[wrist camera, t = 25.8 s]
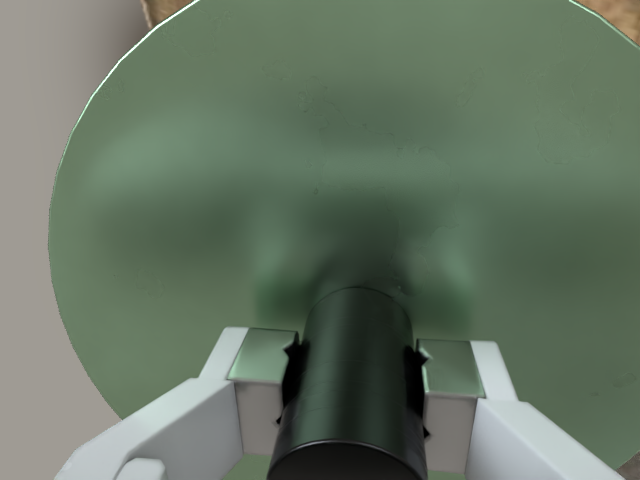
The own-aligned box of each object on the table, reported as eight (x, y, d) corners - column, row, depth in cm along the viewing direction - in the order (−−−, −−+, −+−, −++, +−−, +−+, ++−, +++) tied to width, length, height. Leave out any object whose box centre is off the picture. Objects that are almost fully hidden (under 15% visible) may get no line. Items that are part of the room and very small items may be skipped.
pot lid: (601, 522, 13) (720, 786, 9) (139, 475, 15) (32, 675, 10) (825, -60, 7) (1660, -227, 2) (-1, -26, 9) (-421, -85, 4)
